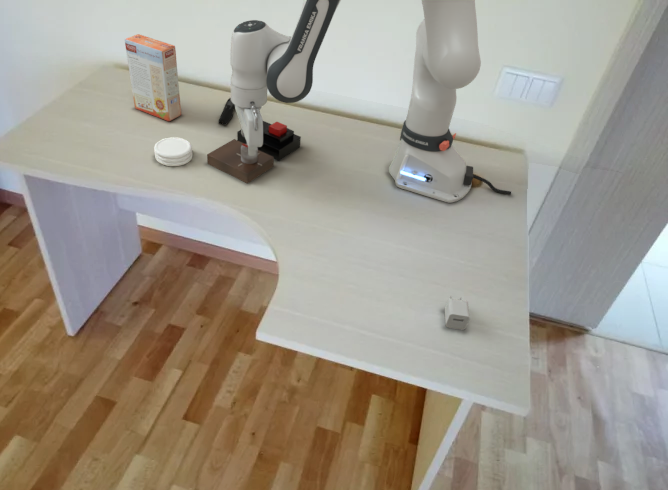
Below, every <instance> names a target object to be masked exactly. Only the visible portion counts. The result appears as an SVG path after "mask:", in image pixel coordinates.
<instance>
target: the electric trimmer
mask: <svg viewBox="0 0 668 490" xmlns="http://www.w3.org/2000/svg"><path fill="white" fill-rule="evenodd" d="M235 110H236V109H235V104H233V103H232V101H231V97H229V98H228V99H227V100H226V102H225V104H224V107H223V109H222V112H221V114H220V115H219V119H218V122H217V123H218V124H219V125H226V126H227V124H228V123H229V122H230V121H231V119H232V118H233V116H234V111H235Z"/></svg>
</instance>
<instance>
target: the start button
mask: <svg viewBox="0 0 668 490" xmlns="http://www.w3.org/2000/svg"><path fill="white" fill-rule="evenodd" d="M271 124H272V125H270V126H269V132H270V133H272V134H274V135H276V136H281V135H283V134H284V133H286V132H287V128H288V125H286V124H284V123H281V122H279V121H275V122H273V123H271Z"/></svg>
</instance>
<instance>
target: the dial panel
mask: <svg viewBox="0 0 668 490" xmlns="http://www.w3.org/2000/svg"><path fill="white" fill-rule="evenodd" d="M242 144H244V143H242V142H240V141H237V139H235V138H234V139H233V138H232V140H229V141H228V142H226V143H224V144H222V145H221V146H219V147H217V148H215V149H214V150H212V151H210V152H209V153H207V154H206V161H207V162H206V163H207V165H209V166H210V167H213V168H215V169H217V170H219V171H220V172H223V173H225V174H227V175H229V176H230V177H232V178H235V179H237V180H239V181H241V182H243V183H245V184H249V183H251V182H252V181H254V180H255V179H257V178H258V177H260V176H261V175H263V174H264V173H266V172H268V171H269V170H271V169H272V168H273V167H274V163H275V162H274V161H275V159H274V157H273V156H270V155H268V154H266V153H264V152H262V151H259V150H258V160H257V162H256V163H253V164H246V163H243V162H242V161H241V146H242Z"/></svg>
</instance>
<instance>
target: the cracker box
mask: <svg viewBox="0 0 668 490" xmlns="http://www.w3.org/2000/svg"><path fill="white" fill-rule="evenodd" d="M124 45H125V51H126V58H127V59H126V60H127V65H128V73H129V77H130V85H131V91H132V98H133V104H134V105H133V106H134V109H135V110H138V111H141V112H144V113H146V114H149V115H151V116H153V117H157V118H158V119H162V120H164V121H166V122H171V121H173V120H175V119H176V118H179V117H180V116H182V108H181V96H180V86H179V74H178V64H177V51H176V46H175V45H174V44H171V43H168V42H164V41H161V40H158V39H154V38H152V37H149V36H146V35H142V34H141V33H140V34H134V35H132V36H129V37H127V38H124Z"/></svg>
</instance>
